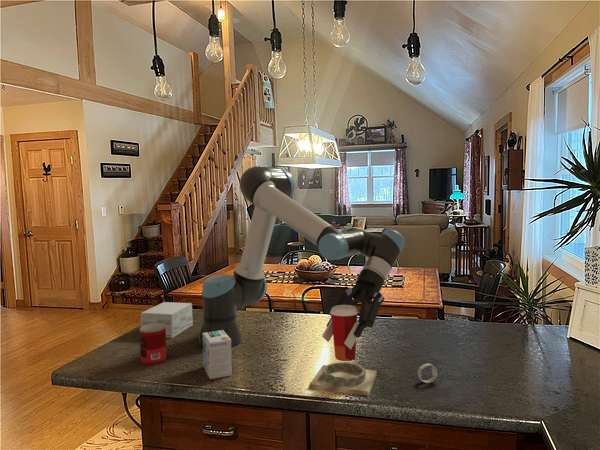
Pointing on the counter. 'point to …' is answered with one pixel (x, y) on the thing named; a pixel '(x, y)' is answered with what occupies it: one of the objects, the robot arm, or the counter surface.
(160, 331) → the canned food
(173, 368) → the counter surface
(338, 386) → the cup holder
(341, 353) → the paper cup
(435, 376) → the grey ring
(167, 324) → the supplement box
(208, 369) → the light bulb box
